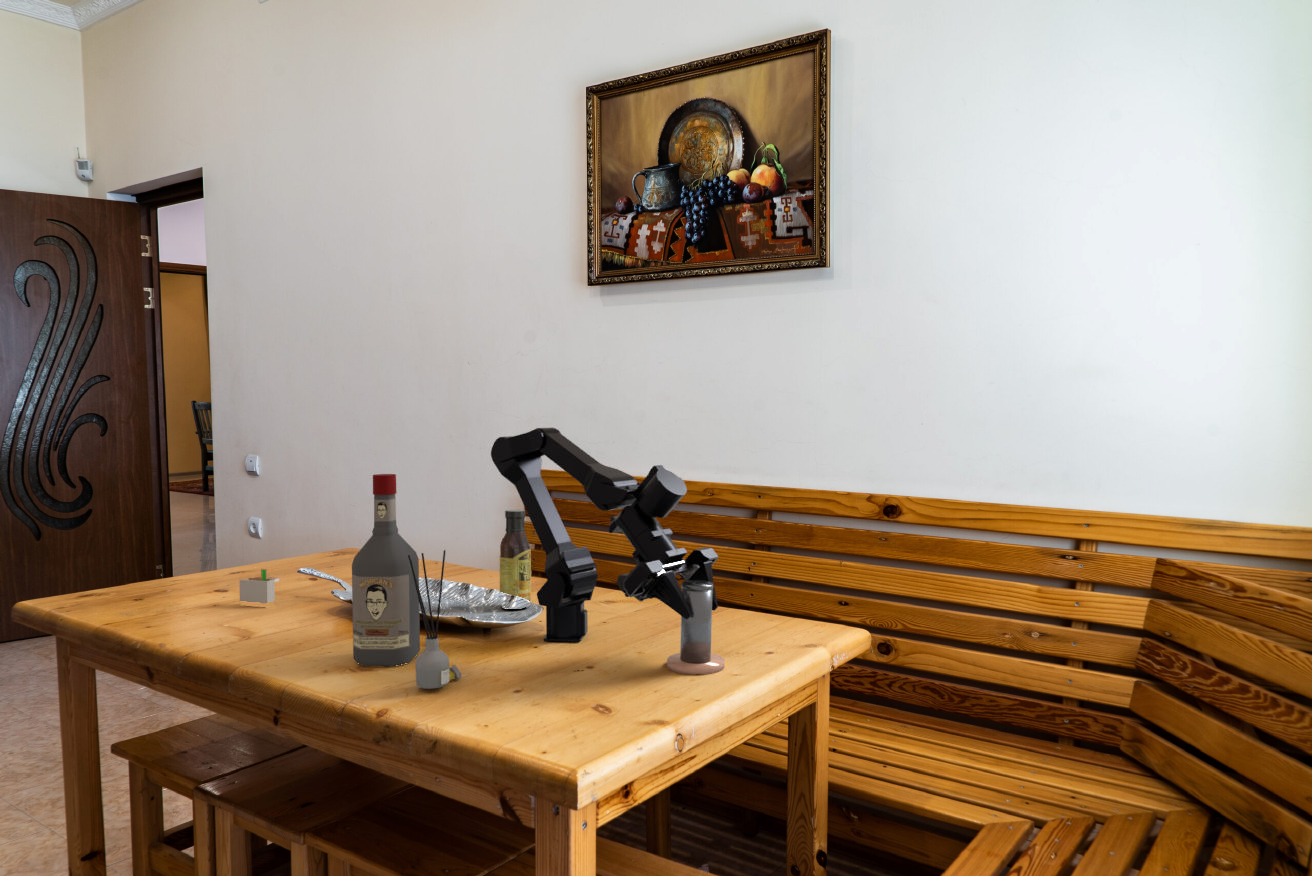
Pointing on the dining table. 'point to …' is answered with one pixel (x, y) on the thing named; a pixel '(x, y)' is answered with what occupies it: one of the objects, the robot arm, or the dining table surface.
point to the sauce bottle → (515, 557)
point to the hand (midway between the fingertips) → (702, 613)
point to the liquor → (385, 588)
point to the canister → (697, 622)
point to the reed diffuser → (432, 647)
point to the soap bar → (695, 665)
